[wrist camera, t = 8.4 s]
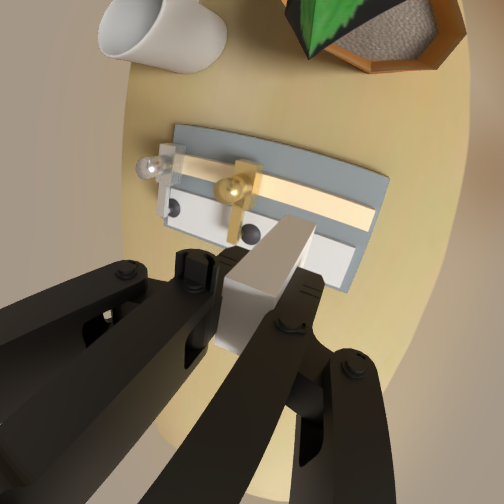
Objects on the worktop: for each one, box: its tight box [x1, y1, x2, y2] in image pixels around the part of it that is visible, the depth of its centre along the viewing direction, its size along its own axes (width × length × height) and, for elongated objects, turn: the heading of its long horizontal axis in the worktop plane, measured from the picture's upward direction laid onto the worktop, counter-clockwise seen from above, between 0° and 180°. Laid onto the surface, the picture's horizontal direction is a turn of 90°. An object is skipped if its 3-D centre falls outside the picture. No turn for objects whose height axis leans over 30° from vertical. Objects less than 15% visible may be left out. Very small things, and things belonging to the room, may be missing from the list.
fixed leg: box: [136, 143, 186, 218], centre depth 26 cm, size 8×2×5 cm, turn 167°
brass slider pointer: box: [213, 159, 265, 245], centre depth 24 cm, size 8×2×5 cm, turn 167°
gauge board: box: [164, 124, 390, 293], centre depth 27 cm, size 12×22×3 cm, turn 77°
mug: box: [98, 0, 227, 74], centre depth 19 cm, size 12×8×11 cm
